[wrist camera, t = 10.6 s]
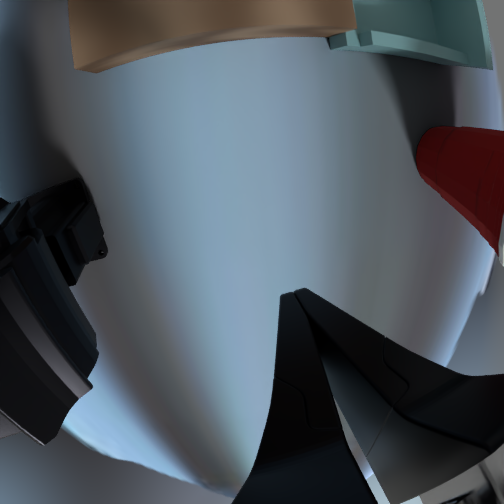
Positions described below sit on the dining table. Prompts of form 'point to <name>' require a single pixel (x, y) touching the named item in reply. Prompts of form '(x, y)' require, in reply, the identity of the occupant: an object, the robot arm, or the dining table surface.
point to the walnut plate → (191, 25)
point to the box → (421, 31)
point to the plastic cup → (468, 175)
